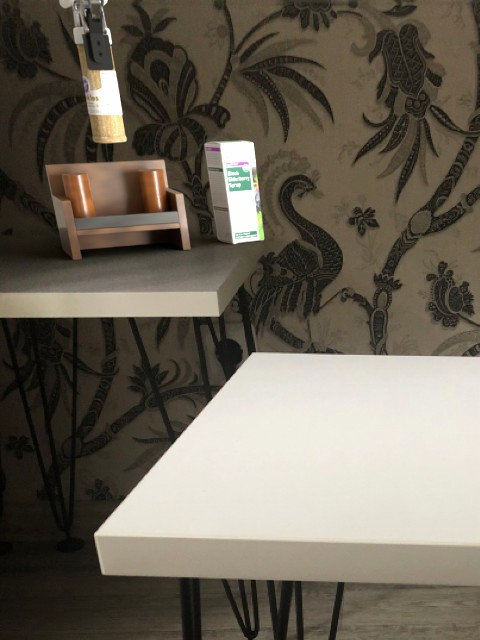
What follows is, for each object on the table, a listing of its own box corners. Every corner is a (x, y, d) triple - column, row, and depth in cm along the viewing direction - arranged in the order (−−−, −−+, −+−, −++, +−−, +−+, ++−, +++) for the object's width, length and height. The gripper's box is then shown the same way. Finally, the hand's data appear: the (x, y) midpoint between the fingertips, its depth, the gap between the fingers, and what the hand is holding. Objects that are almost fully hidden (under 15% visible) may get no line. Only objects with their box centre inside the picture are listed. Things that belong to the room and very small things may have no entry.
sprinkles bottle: (86, 142, 125) (65, 27, 118) (114, 141, 128) (95, 28, 122) (106, 143, 123) (86, 25, 116) (135, 142, 126) (116, 27, 119)
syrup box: (233, 244, 145) (221, 142, 138) (216, 240, 149) (203, 141, 142) (265, 240, 148) (254, 140, 141) (247, 236, 152) (236, 139, 145)
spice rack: (73, 260, 134) (55, 170, 128) (62, 250, 142) (45, 165, 136) (191, 249, 141) (178, 164, 135) (174, 240, 149) (162, 159, 143)
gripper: (28, -94, 117) (60, 71, 126) (43, -115, 104) (77, 70, 113) (89, -90, 120) (116, 70, 129) (111, -110, 107) (139, 69, 116)
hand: (97, 68), depth 121 cm, fingers closed on sprinkles bottle, 4 cm apart
